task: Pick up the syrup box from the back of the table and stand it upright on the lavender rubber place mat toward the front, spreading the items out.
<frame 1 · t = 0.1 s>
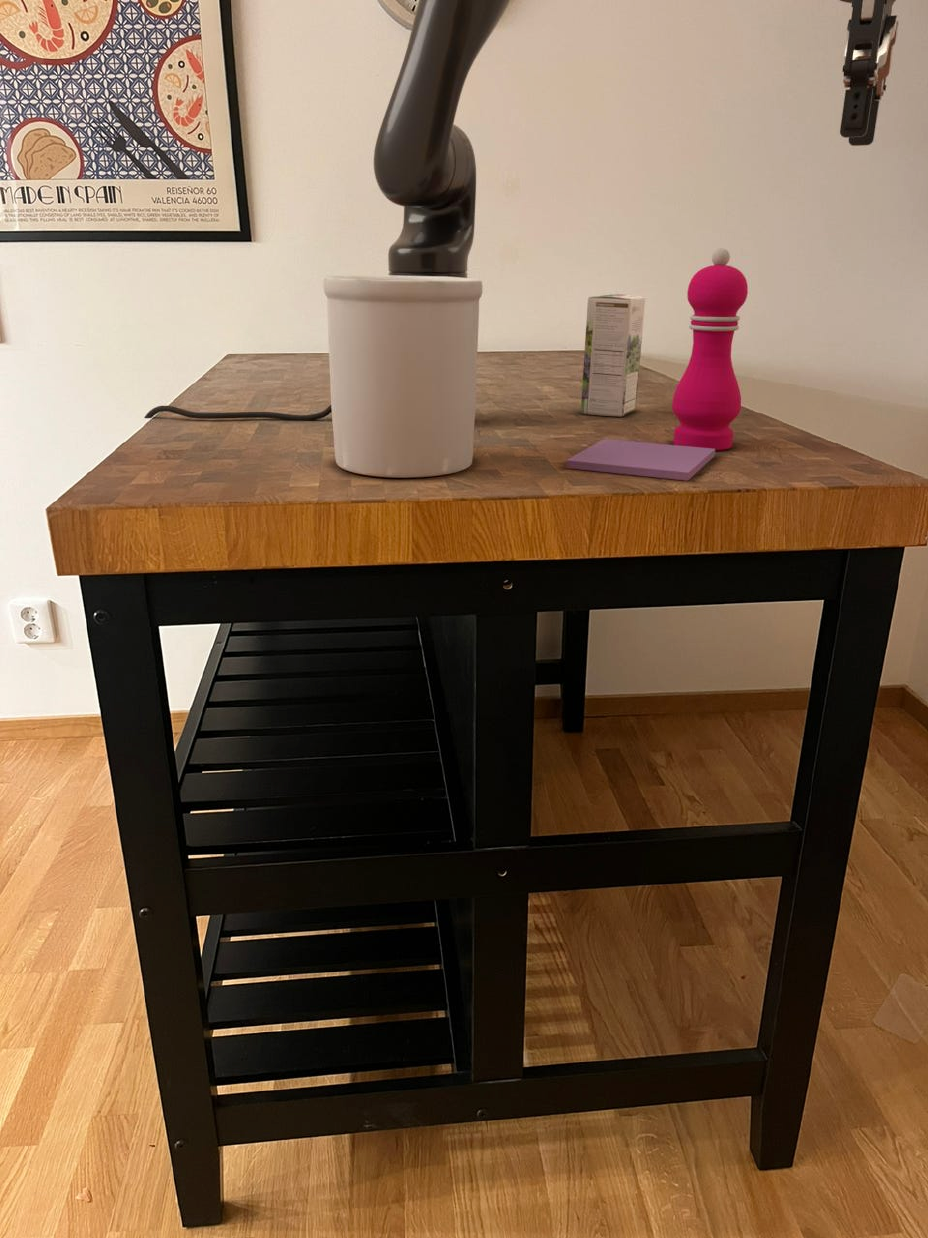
hand: (856, 141, 86), 29 cm above the table, tool pointing down, fingers open, 8 cm apart
utensil holder: (406, 465, 93), on the table
syrup box: (609, 414, 121), on the table
pepper mill: (702, 447, 101), on the table
place mat: (642, 462, 93), on the table
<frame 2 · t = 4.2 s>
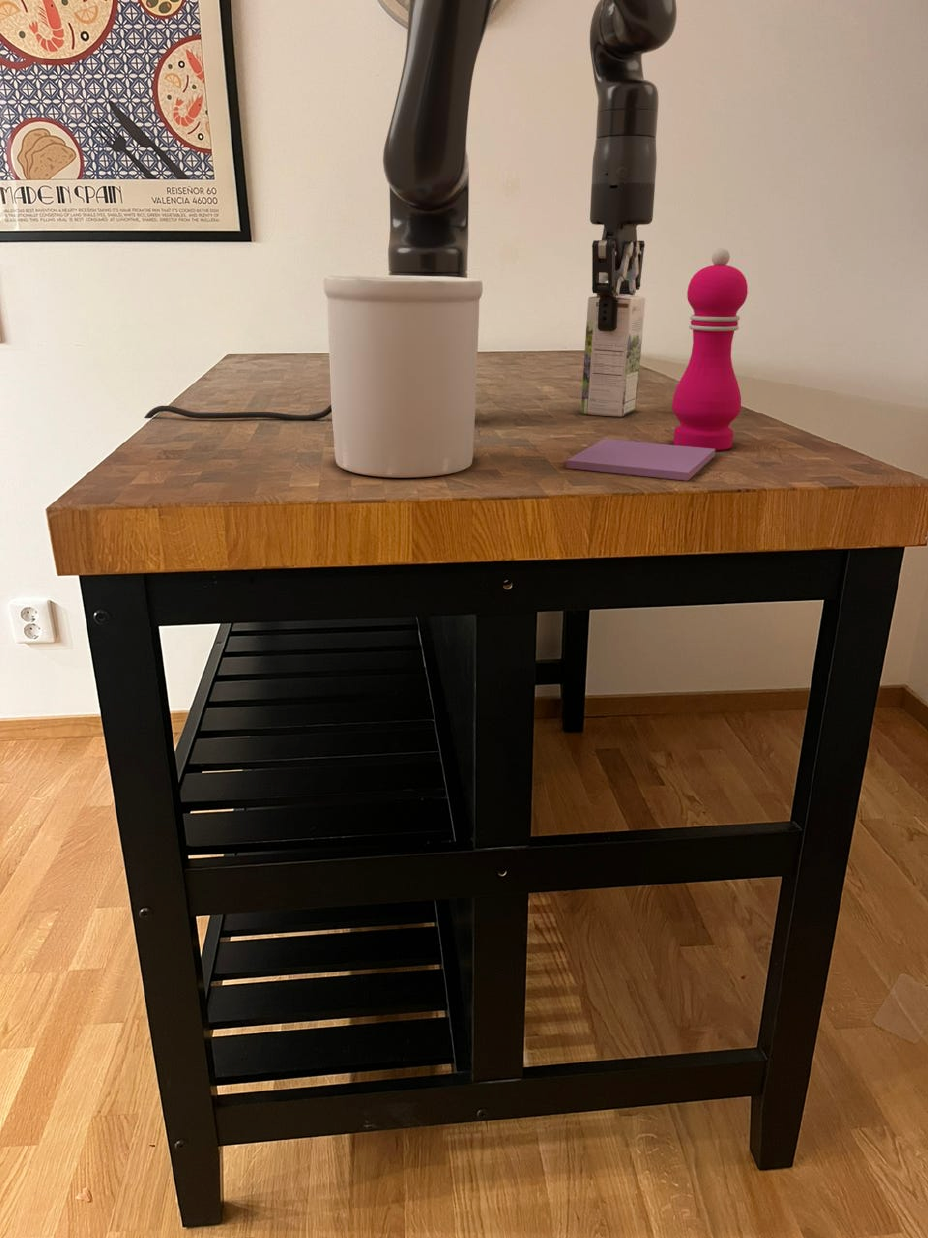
hand: (614, 328, 117), 11 cm above the table, tool pointing down, fingers closed on syrup box, 5 cm apart
syrup box: (609, 414, 121), on the table, touching gripper
everything else where it was.
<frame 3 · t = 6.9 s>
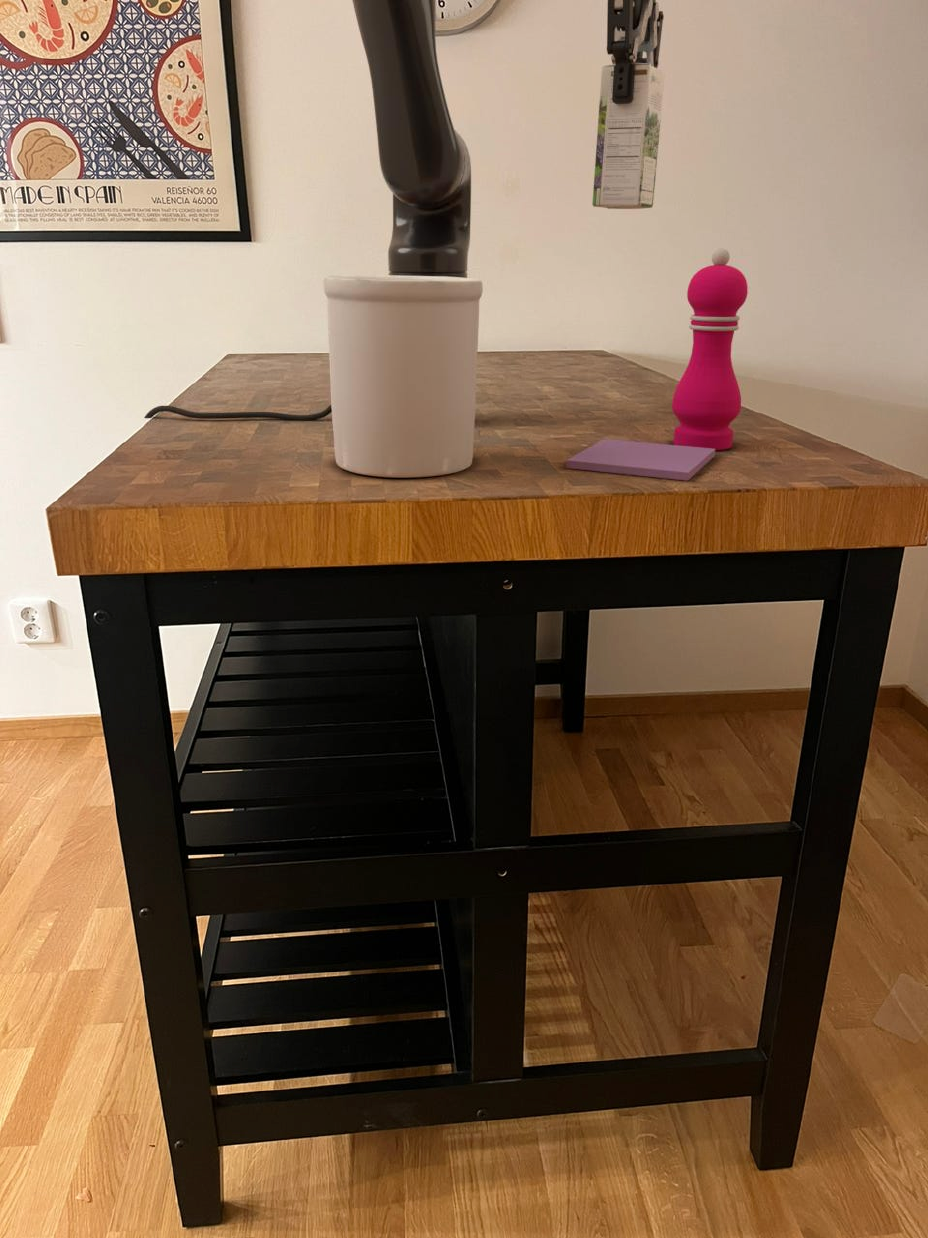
hand: (630, 106, 105), 35 cm above the table, tool pointing down, fingers closed on syrup box, 5 cm apart
syrup box: (623, 209, 110), point 24 cm above the table, touching gripper
everything else where it was.
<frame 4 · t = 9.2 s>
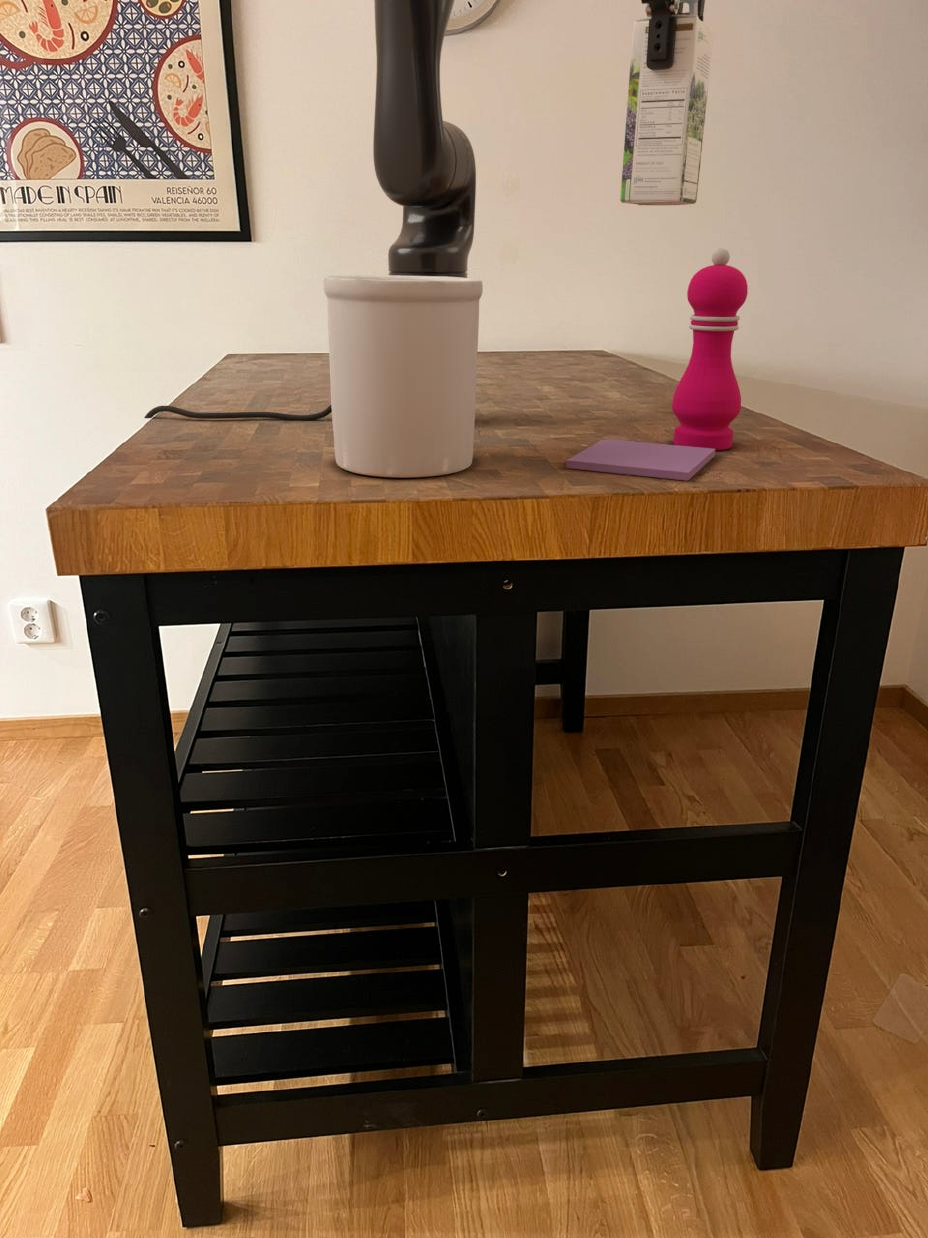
hand: (668, 73, 82), 34 cm above the table, tool pointing down, fingers closed on syrup box, 5 cm apart
syrup box: (659, 206, 86), point 24 cm above the table, touching gripper
everything else where it was.
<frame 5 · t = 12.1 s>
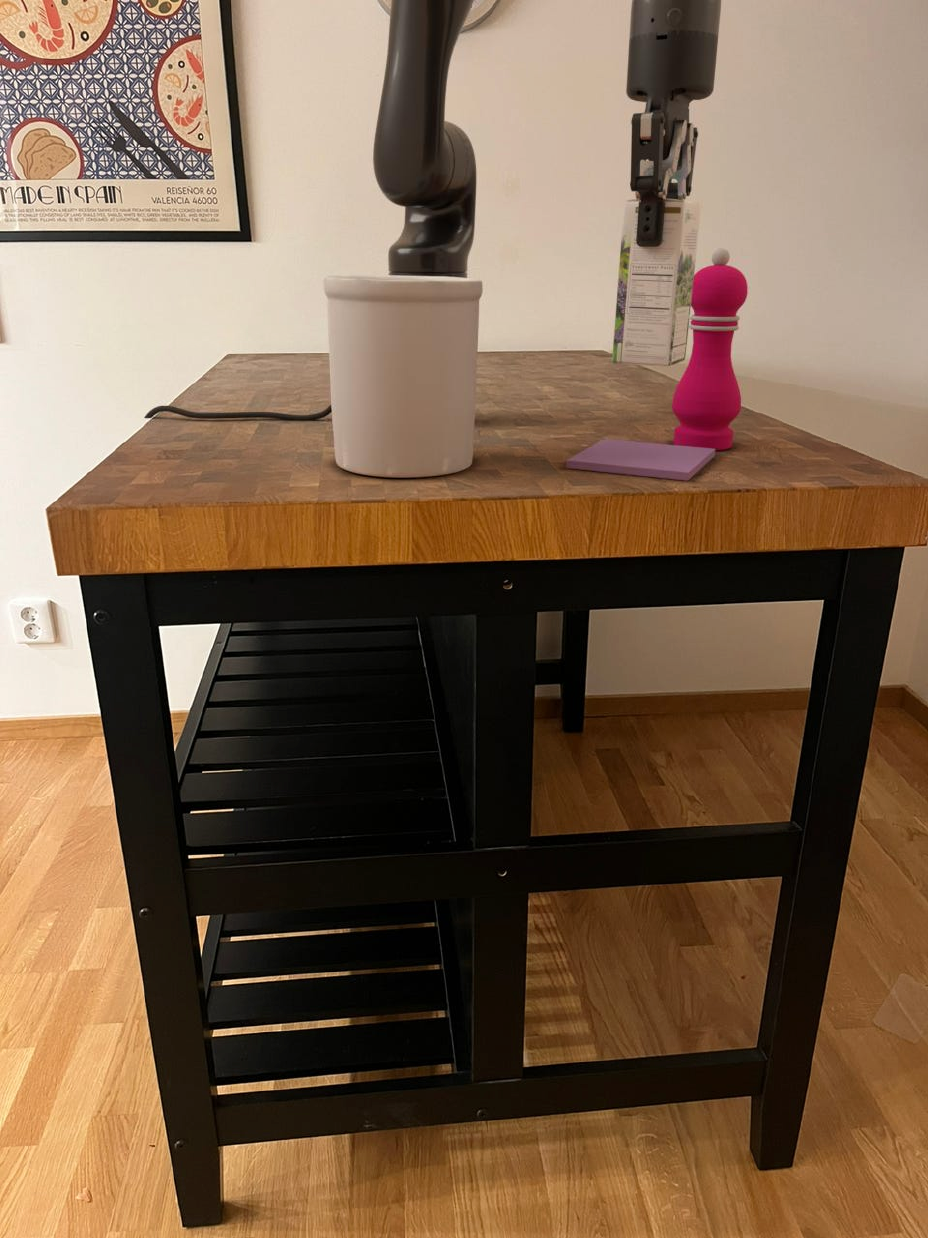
hand: (657, 245, 86), 20 cm above the table, tool pointing down, fingers closed on syrup box, 5 cm apart
syrup box: (649, 365, 90), point 9 cm above the table, touching gripper
everything else where it was.
when the fingers open (11 cm above the table, at t = 14.6 s): syrup box stays where it is, resting on place mat.
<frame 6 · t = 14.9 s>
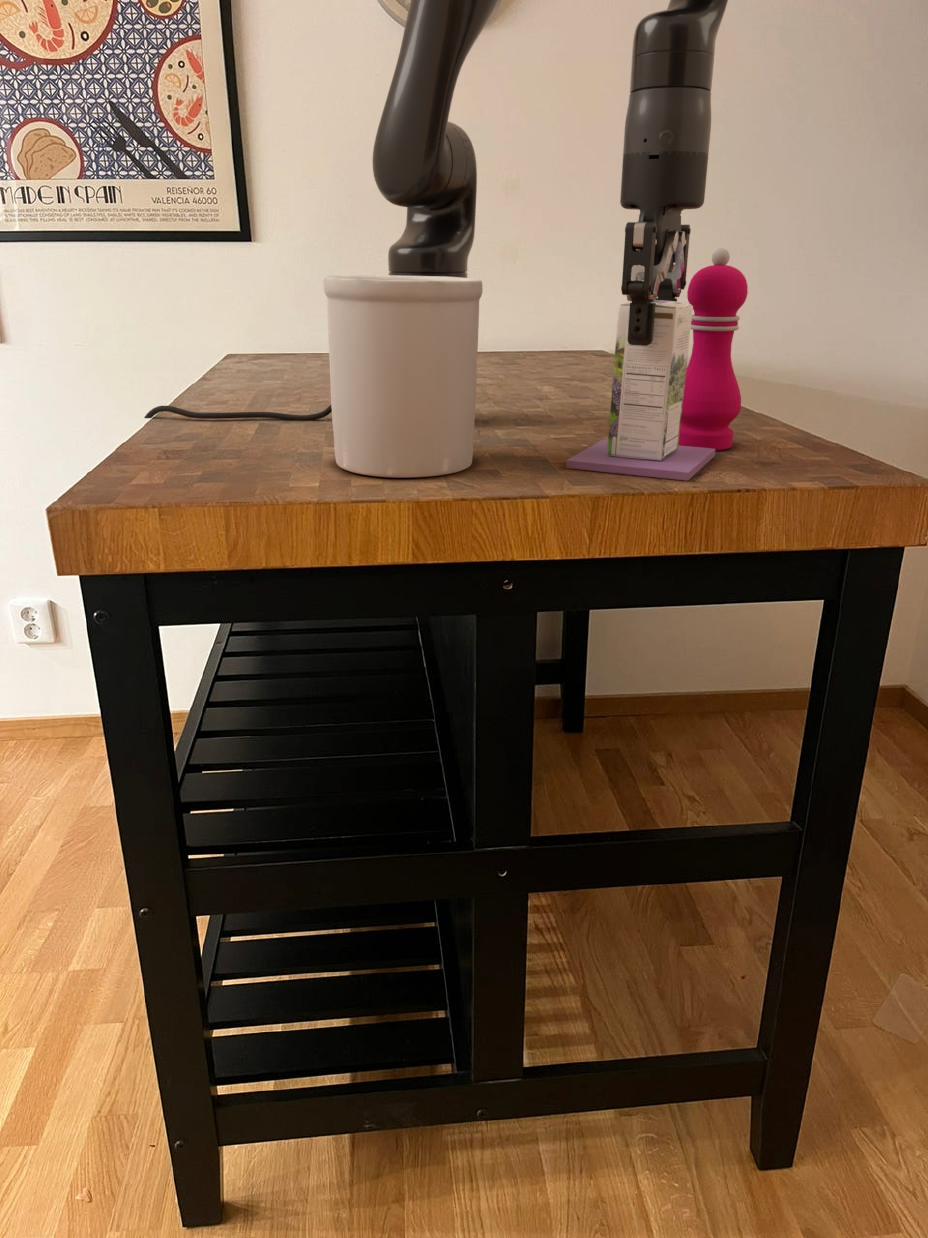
hand: (651, 340, 89), 12 cm above the table, tool pointing down, fingers open, 7 cm apart
syrup box: (643, 455, 93), point 1 cm above the table, touching place mat
everything else where it was.
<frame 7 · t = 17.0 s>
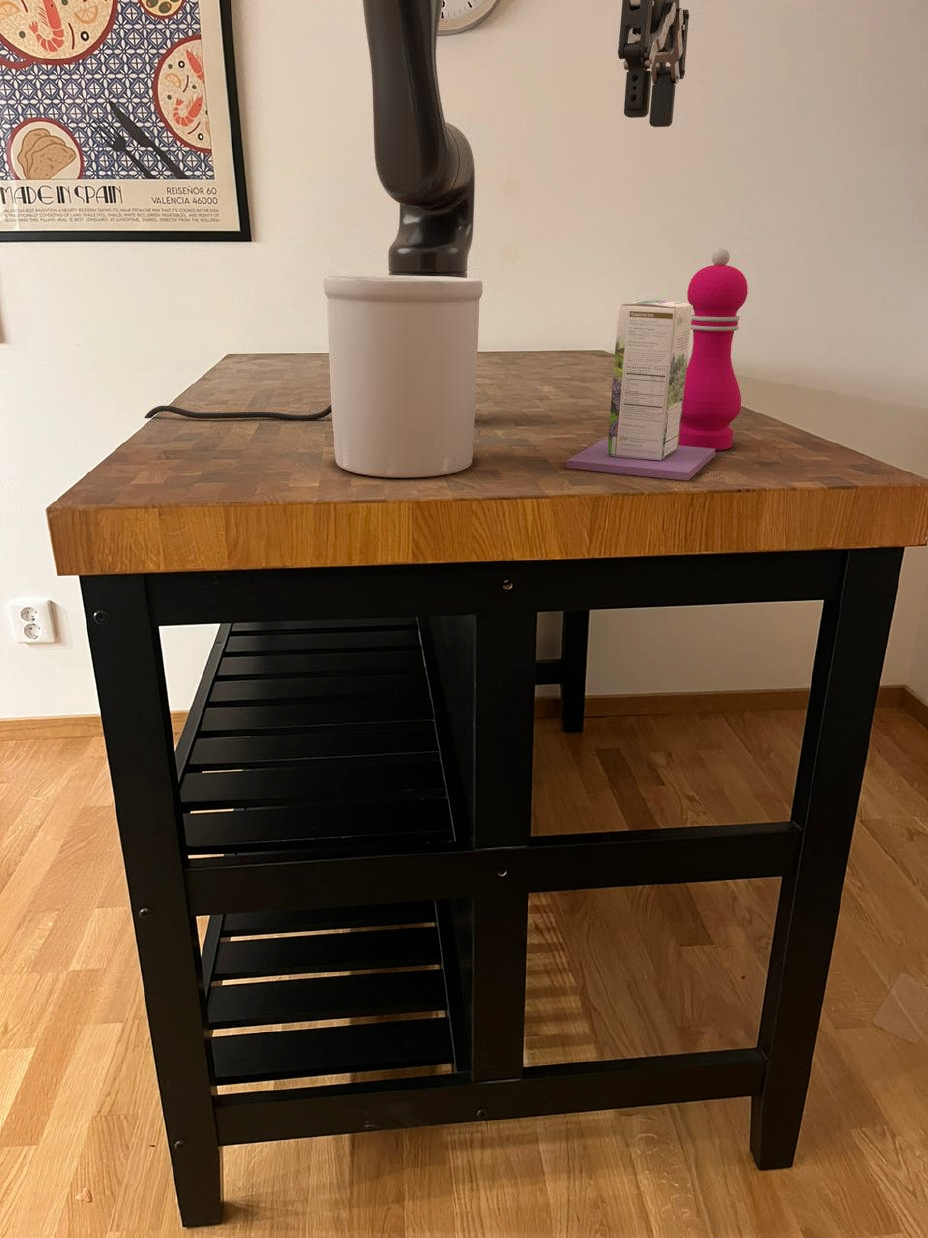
hand: (648, 121, 91), 31 cm above the table, tool pointing down, fingers open, 8 cm apart
nothing on the table moved.
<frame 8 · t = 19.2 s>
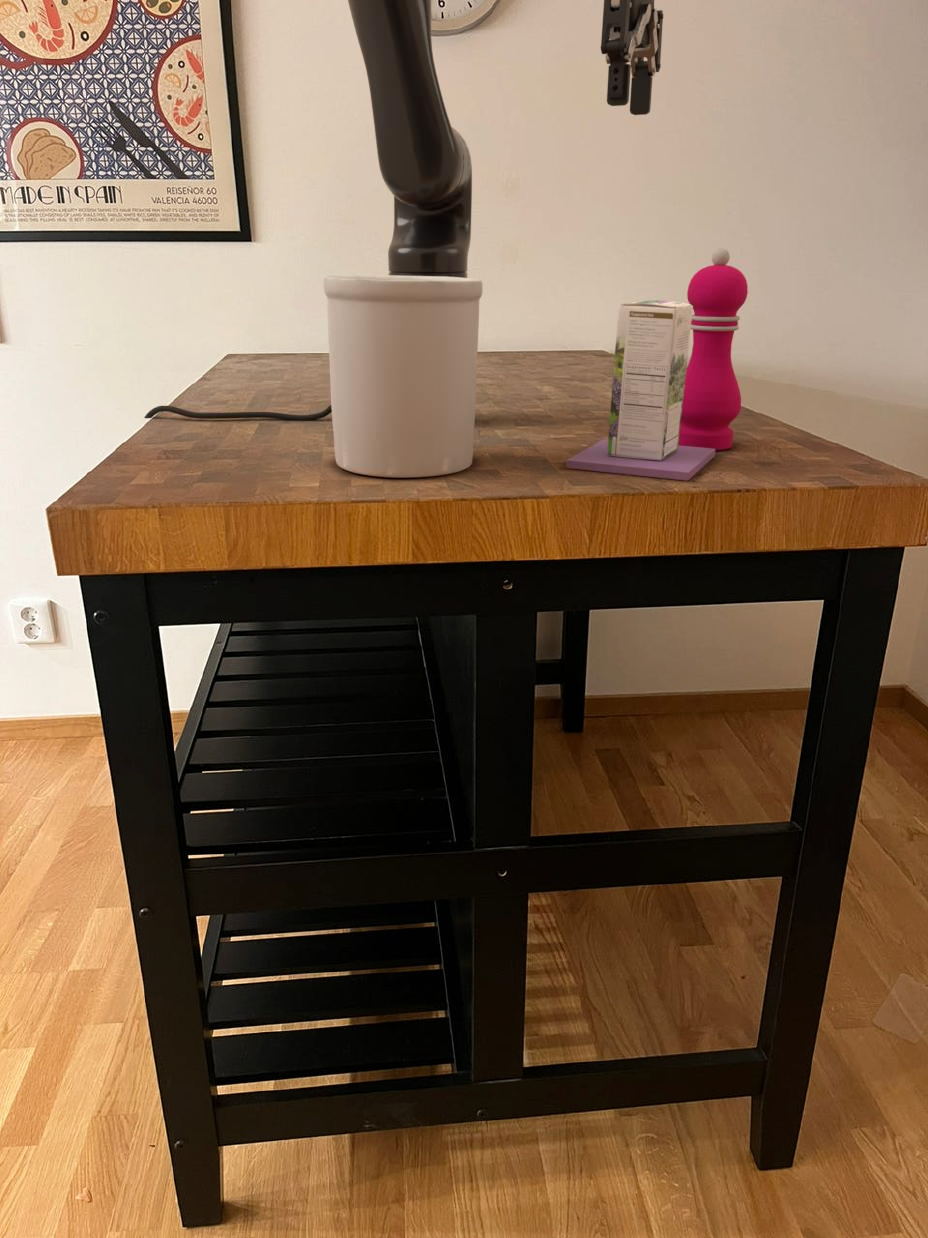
hand: (628, 109, 102), 34 cm above the table, tool pointing down, fingers open, 8 cm apart
nothing on the table moved.
at the end: syrup box 0.1 cm off-centre on the place mat, point 0.6 cm above the place mat's base; syrup box tilted 0° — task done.
